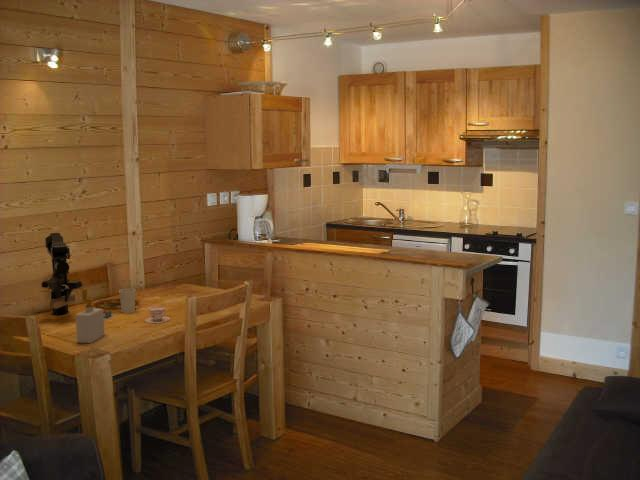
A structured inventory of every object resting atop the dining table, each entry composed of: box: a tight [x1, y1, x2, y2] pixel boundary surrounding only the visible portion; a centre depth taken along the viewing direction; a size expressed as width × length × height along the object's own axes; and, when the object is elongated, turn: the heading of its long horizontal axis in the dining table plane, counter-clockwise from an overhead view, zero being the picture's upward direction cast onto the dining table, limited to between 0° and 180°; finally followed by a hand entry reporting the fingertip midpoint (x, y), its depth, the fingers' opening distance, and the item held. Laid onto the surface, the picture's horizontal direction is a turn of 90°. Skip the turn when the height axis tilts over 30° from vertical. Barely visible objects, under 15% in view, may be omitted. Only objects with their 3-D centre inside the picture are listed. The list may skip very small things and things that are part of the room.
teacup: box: [144, 305, 171, 324], centre depth 339 cm, size 12×12×6 cm
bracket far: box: [103, 309, 112, 318], centre depth 342 cm, size 9×4×3 cm, turn 76°
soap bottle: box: [75, 286, 105, 344], centre depth 307 cm, size 12×7×23 cm, turn 167°
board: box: [103, 313, 118, 322], centre depth 339 cm, size 12×18×1 cm, turn 166°
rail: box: [49, 293, 76, 309], centre depth 338 cm, size 4×15×4 cm, turn 165°
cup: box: [118, 288, 136, 314], centre depth 351 cm, size 8×8×12 cm
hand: (62, 301), depth 338 cm, fingers closed on rail, 3 cm apart
